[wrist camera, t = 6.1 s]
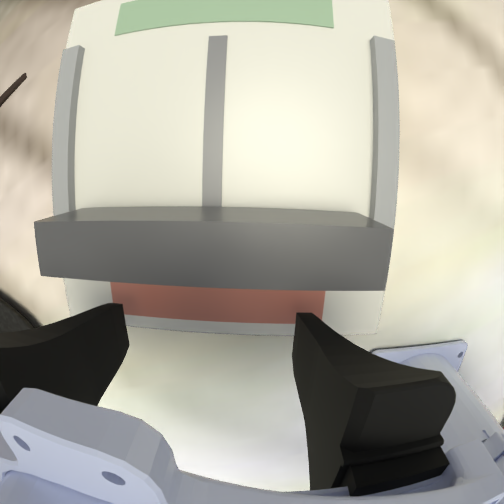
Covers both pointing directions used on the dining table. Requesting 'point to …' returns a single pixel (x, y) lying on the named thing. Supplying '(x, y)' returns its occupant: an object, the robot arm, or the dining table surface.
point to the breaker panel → (229, 136)
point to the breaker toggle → (217, 247)
